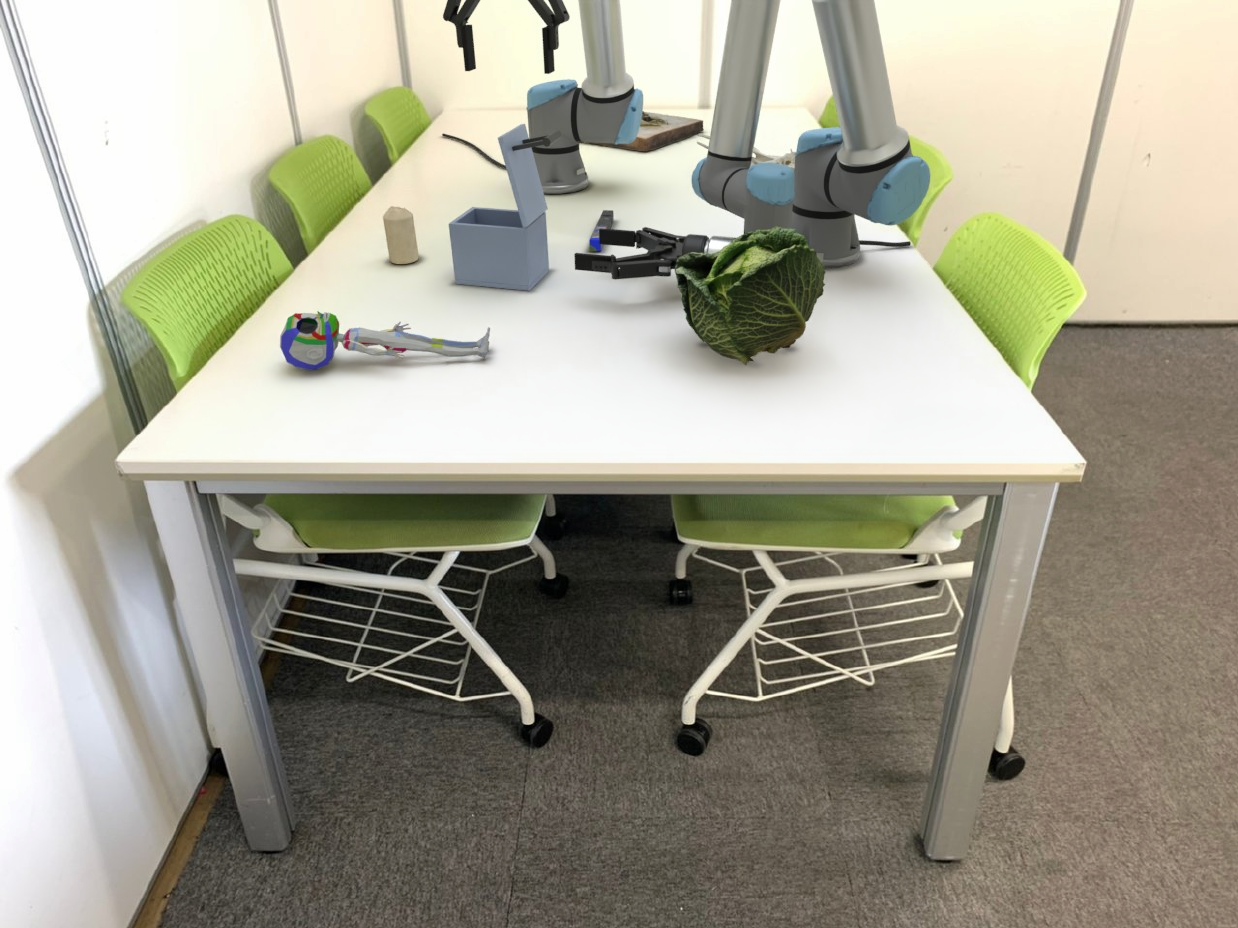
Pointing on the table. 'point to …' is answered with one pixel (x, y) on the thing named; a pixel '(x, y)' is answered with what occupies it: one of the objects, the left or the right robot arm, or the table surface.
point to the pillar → (603, 222)
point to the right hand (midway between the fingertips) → (587, 248)
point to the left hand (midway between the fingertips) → (509, 71)
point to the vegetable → (751, 292)
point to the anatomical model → (765, 156)
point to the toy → (360, 341)
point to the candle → (400, 235)
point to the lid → (525, 170)
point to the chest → (498, 249)
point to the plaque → (660, 131)
